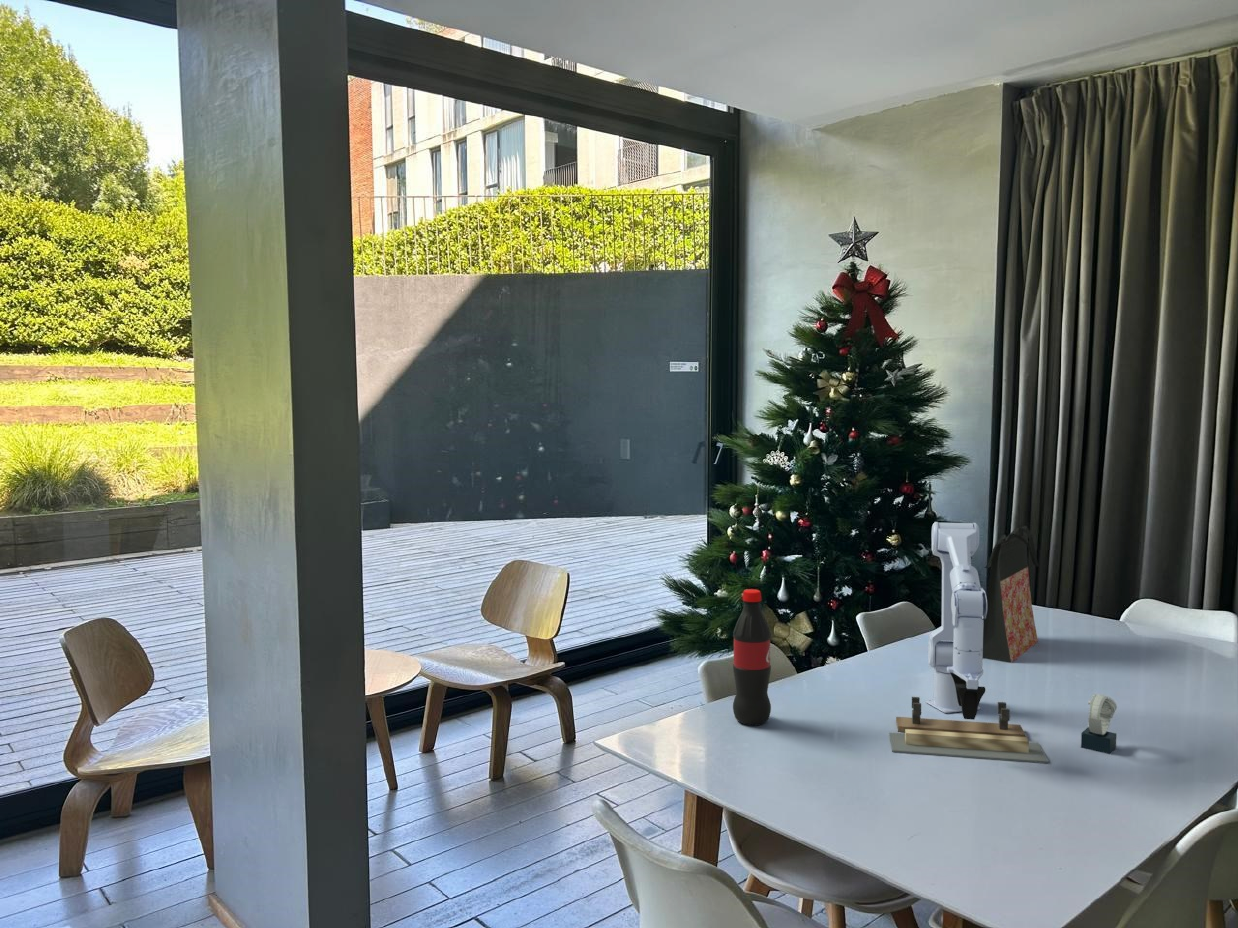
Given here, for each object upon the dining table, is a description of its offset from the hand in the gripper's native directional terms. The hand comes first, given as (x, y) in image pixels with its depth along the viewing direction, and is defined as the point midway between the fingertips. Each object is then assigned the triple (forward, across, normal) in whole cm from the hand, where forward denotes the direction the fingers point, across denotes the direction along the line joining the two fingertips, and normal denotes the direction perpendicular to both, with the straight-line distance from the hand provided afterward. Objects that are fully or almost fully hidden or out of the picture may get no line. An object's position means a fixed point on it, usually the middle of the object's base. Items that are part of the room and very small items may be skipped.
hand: (966, 712), depth 195 cm
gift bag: (+8, -80, +23) cm, 83 cm away
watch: (+8, -6, +27) cm, 29 cm away
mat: (+8, 0, 0) cm, 8 cm away
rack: (+8, -10, 0) cm, 13 cm away
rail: (+7, 0, 0) cm, 7 cm away
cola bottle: (+8, -7, -45) cm, 46 cm away
